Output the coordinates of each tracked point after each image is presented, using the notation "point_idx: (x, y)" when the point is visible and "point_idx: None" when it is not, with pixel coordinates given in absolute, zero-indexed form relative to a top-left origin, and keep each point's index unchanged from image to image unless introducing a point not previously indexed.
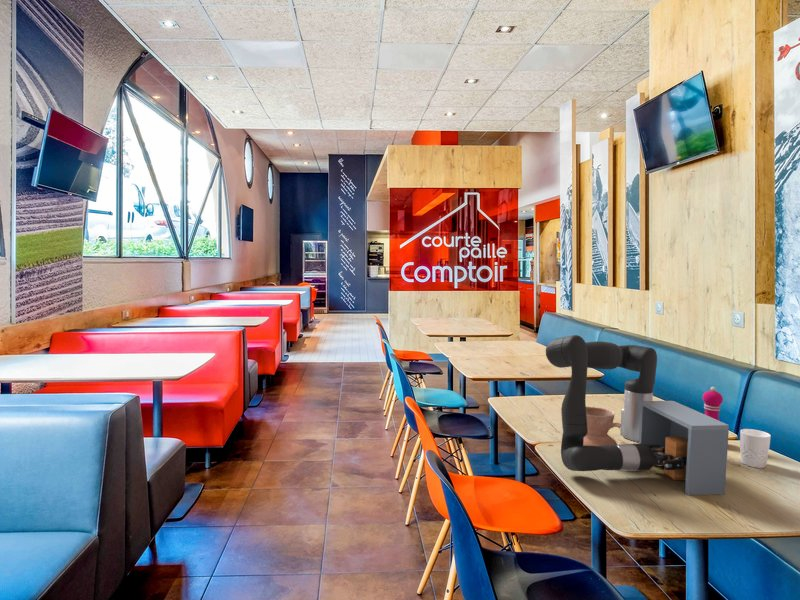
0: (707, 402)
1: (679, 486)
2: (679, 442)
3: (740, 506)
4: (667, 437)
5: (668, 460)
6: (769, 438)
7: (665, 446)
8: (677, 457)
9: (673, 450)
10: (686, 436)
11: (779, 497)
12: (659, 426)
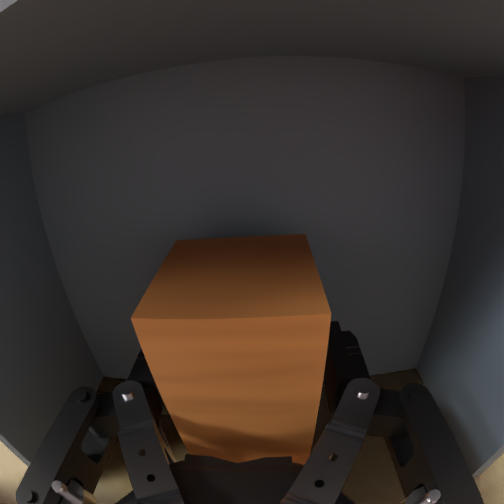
0: None
1: (391, 487)
2: (316, 288)
3: None
4: (150, 313)
5: (456, 497)
6: None
7: (163, 390)
8: (368, 409)
9: (287, 387)
10: (175, 227)
11: None
12: (5, 259)
